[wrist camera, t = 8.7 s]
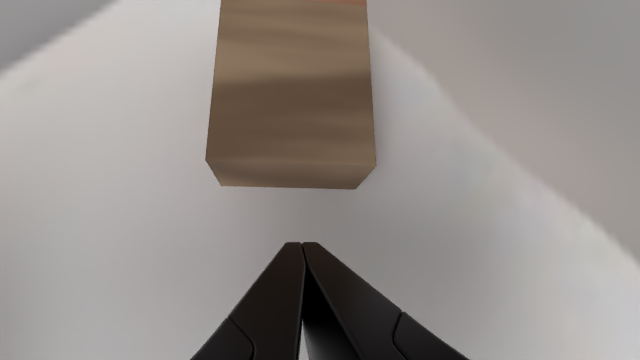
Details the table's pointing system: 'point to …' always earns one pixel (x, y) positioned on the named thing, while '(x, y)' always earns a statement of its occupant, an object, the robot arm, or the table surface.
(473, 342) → the table surface
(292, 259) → the robot arm
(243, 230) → the table surface
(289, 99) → the walnut block
